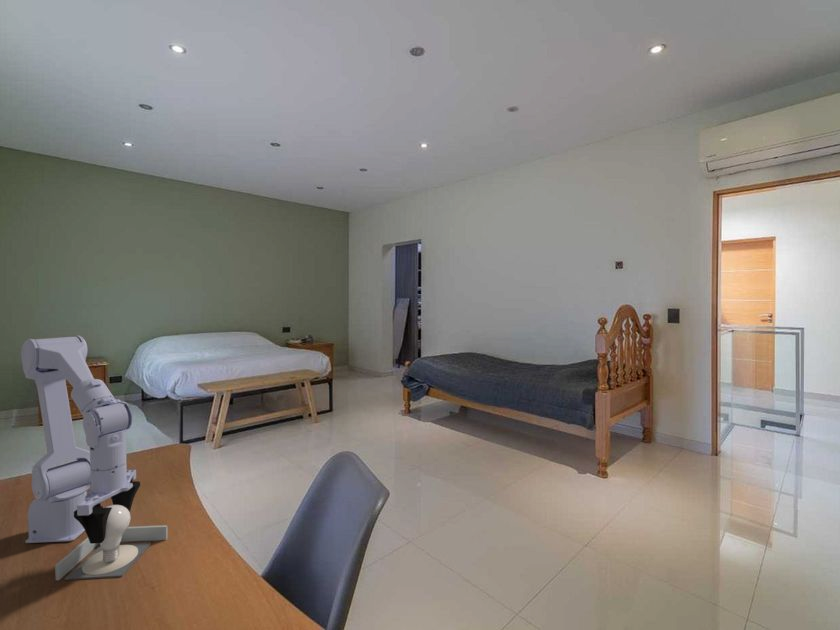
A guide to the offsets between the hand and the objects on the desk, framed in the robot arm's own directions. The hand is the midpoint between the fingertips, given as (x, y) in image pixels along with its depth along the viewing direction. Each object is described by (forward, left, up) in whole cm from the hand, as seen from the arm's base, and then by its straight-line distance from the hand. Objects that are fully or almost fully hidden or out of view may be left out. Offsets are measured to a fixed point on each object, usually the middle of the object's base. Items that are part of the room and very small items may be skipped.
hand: (110, 530), depth 80 cm
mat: (0, 0, -6) cm, 6 cm away
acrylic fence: (0, +1, -6) cm, 6 cm away
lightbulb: (+1, -1, -6) cm, 6 cm away
